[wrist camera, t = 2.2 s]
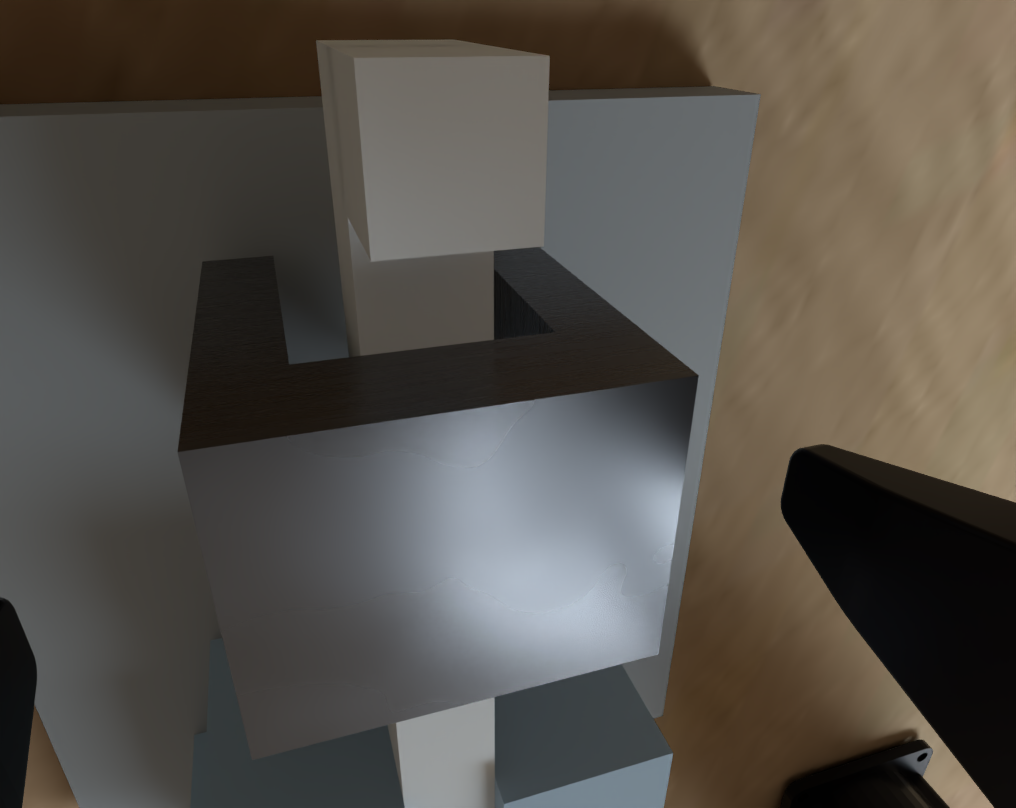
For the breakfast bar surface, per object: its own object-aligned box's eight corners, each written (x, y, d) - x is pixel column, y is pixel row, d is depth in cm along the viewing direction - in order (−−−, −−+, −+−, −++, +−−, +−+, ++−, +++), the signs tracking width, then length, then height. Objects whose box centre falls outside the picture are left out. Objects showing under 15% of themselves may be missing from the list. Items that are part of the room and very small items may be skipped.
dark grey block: (524, 234, 12) (699, 375, 8) (521, 442, 14) (657, 654, 10) (202, 261, 11) (177, 452, 6) (246, 486, 13) (251, 760, 8)
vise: (721, 27, 14) (1132, 49, 7) (638, 674, 22) (800, 946, 16) (-195, 28, 10) (-950, 73, 4) (117, 813, 18) (54, 1249, 12)
